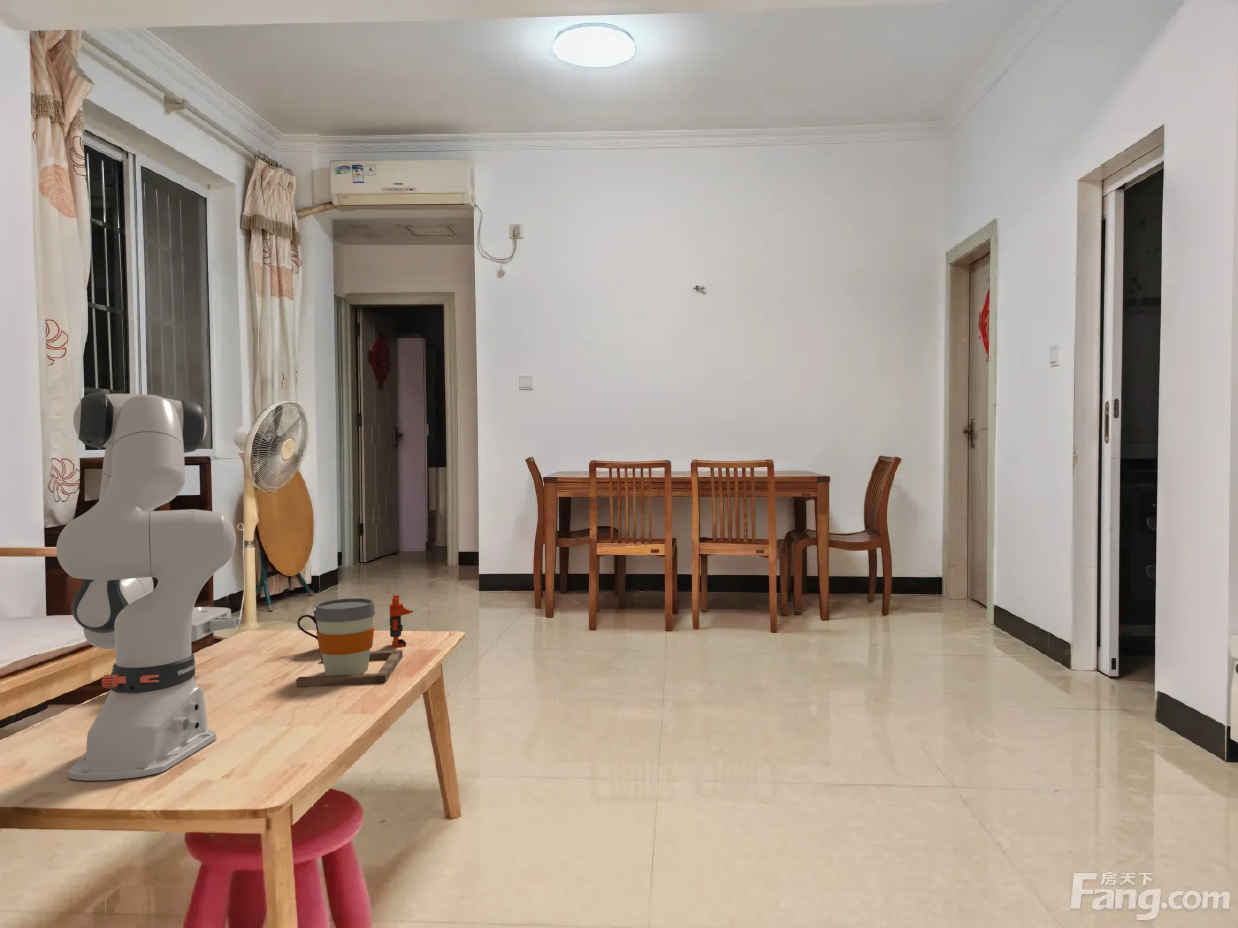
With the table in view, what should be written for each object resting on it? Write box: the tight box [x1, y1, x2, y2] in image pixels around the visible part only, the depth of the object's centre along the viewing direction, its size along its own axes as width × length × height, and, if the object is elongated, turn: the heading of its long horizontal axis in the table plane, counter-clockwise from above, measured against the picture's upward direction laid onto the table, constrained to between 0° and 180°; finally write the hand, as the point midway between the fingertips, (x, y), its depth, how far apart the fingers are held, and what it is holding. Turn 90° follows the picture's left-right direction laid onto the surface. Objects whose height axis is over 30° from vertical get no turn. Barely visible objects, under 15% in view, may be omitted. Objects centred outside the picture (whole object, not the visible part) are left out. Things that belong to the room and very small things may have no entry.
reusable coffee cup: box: [315, 597, 376, 676], centre depth 177 cm, size 13×13×15 cm
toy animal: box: [389, 594, 414, 648], centre depth 200 cm, size 8×6×12 cm
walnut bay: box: [295, 649, 404, 688], centre depth 177 cm, size 21×18×2 cm
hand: (237, 622), depth 174 cm, fingers closed
